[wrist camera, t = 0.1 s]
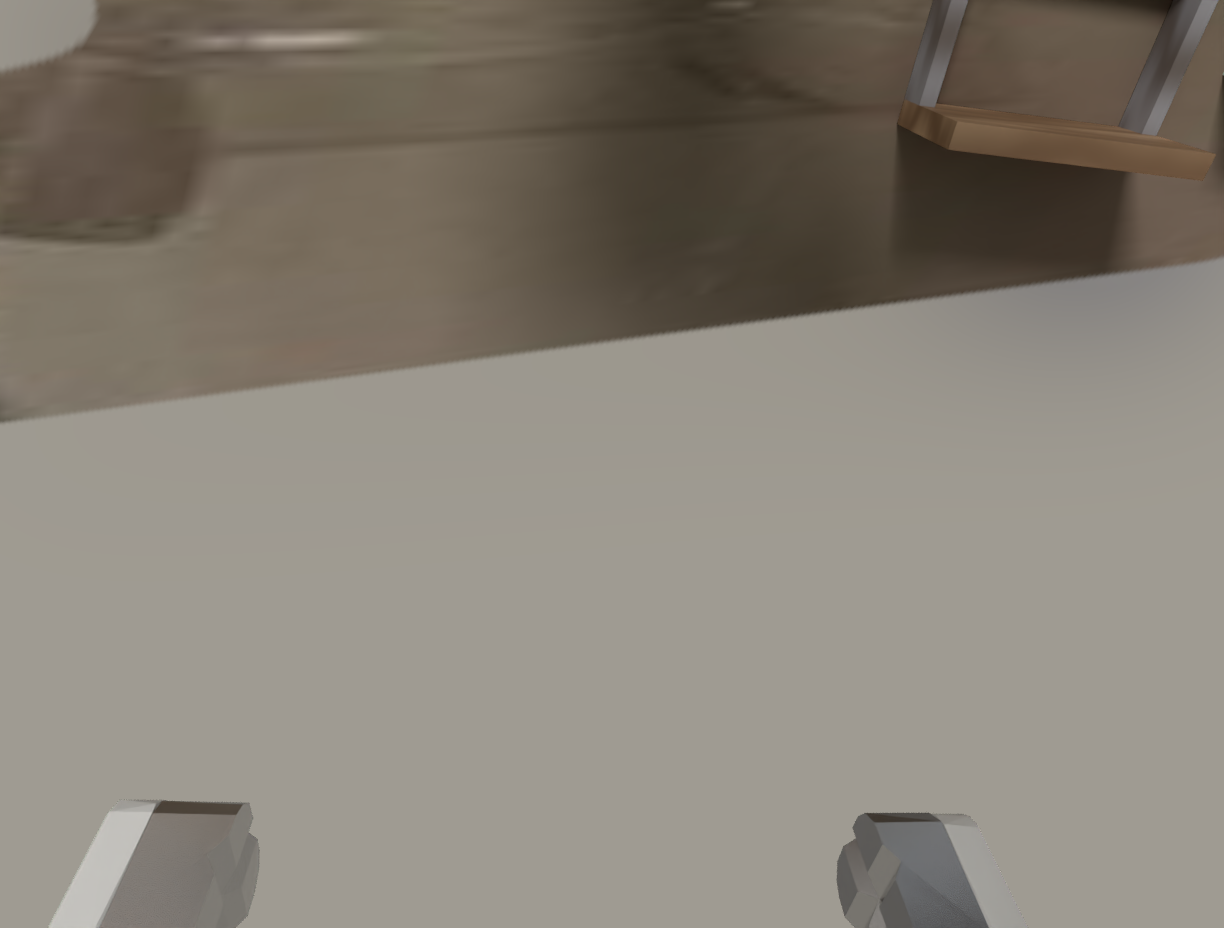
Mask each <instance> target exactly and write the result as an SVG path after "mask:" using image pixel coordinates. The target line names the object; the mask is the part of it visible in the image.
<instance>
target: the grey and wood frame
mask: <svg viewBox="0 0 1224 928" xmlns="http://www.w3.org/2000/svg"><path fill="white" fill-rule="evenodd" d="M1217 2H1218V0H1173V2H1172V4H1171V6H1170V9H1169V11H1168V13H1167V16H1166V18H1165V20H1164V23H1163V25H1162V27H1161V30H1160V32H1159V34H1158V37H1157V39H1156V41H1155V43H1154V46H1153V48H1152V50H1151V53H1150V55H1149V57H1148V60H1147V62H1146V64H1145V67H1144V69H1143V71H1142V73H1141V76H1140V78H1139V80H1138V83H1137V85H1136V87H1135V90H1134V92H1133V94H1132V97H1131V99H1130V101H1129V103H1128V106H1127V108H1126V110H1125V113H1124V115H1123V117H1122V120H1121V122H1120V124H1119V127H1117V126H1109V125H1102V124H1094V123H1086V122H1078V121H1071V120H1063V119H1055V118H1047V117H1039V116H1032V115H1024V114H1016V113H1008V112H1001V111H993V110H985V109H977V108H970V107H962V106H954V105H946V104H938V103H936V102H937V98H938V95H939V92H940V89H941V86H942V82H943V79H944V76H945V73H946V70H947V66H948V63H949V60H950V57H951V54H952V51H953V47H954V44H955V41H956V38H957V35H958V31H959V28H960V25H961V22H962V19H963V15H964V12H965V9H966V6H967V3H968V0H933V3H932V6H931V10H930V13H929V17H928V20H927V23H926V27H925V30H924V34H923V37H922V41H921V44H920V47H919V51H918V54H917V58H916V61H915V64H914V68H913V71H912V75H911V78H910V82H909V85H908V88H907V92H906V95H905V99H904V102H903V105H902V109H901V112H900V116H899V119H898V123H897V124H898V125H900V126H902V127H904V128H906V129H908V130H910V131H912V132H914V133H916V134H918V135H920V136H922V137H924V138H926V139H928V140H930V141H932V142H934V143H936V144H938V145H940V146H942V147H943V148H945V149H947V150H954V151H962V152H970V153H978V154H987V155H995V156H1003V157H1011V158H1019V159H1028V160H1036V161H1044V162H1052V163H1061V164H1069V165H1077V166H1085V167H1093V168H1102V169H1110V170H1118V171H1126V172H1135V173H1143V174H1151V175H1159V176H1167V177H1176V178H1184V179H1192V180H1200V181H1203V180H1204V178H1205V176H1206V174H1207V172H1208V170H1209V168H1210V166H1211V164H1212V162H1213V160H1214V158H1215V156H1216V154H1214V153H1210V152H1207V151H1204V150H1201V149H1197V148H1194V147H1191V146H1188V145H1184V144H1181V143H1178V142H1175V141H1171V140H1168V139H1165V138H1162V137H1158V136H1156V135H1157V133H1158V131H1159V128H1160V126H1161V124H1162V122H1163V120H1164V117H1165V115H1166V113H1167V111H1168V109H1169V107H1170V104H1171V102H1172V100H1173V98H1174V96H1175V94H1176V91H1177V89H1178V87H1179V85H1180V83H1181V80H1182V78H1183V76H1184V74H1185V72H1186V70H1187V67H1188V65H1189V63H1190V61H1191V59H1192V57H1193V54H1194V52H1195V50H1196V48H1197V46H1198V43H1199V41H1200V39H1201V37H1202V35H1203V33H1204V30H1205V28H1206V26H1207V24H1208V22H1209V20H1210V17H1211V15H1212V13H1213V11H1214V9H1215V7H1216V4H1217Z"/></svg>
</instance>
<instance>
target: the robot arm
mask: <svg viewBox="0 0 1224 928" xmlns="http://www.w3.org/2000/svg"><path fill="white" fill-rule="evenodd" d="M252 820H253V815H252V812H251V808H250V804H249V803H237V802H191V801H190V802H188V801H187V802H186V801H166V800H119V801H118V802H117V803H116V805H115V806H114V807H113V808H112V809H111V810H110V811H109V812H108V813H107V815H106V817H105V819H104V821H103V823H102V825H101V826H100V828H99V830H98V832H97V834H96V836H95V838H94V840H93V842H92V844H91V846H90V848H89V850H88V851H87V853H86V855H85V857H84V859H83V861H82V863H81V865H80V867H79V869H78V871H77V872H76V875H75V877H74V878H73V880H72V882H71V884H70V886H69V888H68V890H67V892H66V894H65V895H64V897H63V899H62V901H61V903H60V905H59V907H58V909H57V911H56V913H55V915H54V917H53V919H52V921H51V923H50V924H49V926H48V928H236V927H237V926H238V925H239V924H240V923H241V922H242V921H243V920H244V919H245V918H246V917H247V916H248V912H249V909H250V906H251V903H252V899H253V896H254V892H255V888H256V882H257V876H258V871H259V851H260V850H259V845H258V840H257V838H256V837H254V836H253V835H251V834H250V833H249V829H250V826H251V823H252ZM853 830H854V833H855V836H856V839H854V840H853V841H851V842H849V843H848V844H846V845H845V846H843V849H842V851H841V854H840V856H839V859H838V863H837V886H838V892H839V898H840V902H841V905H842V909H843V912H844V916H845V918H846V919H847V920H848V921H849V922H850V923H851V924H852V925H853V926H854V927H855V928H1028V927H1027V925H1026V923H1025V921H1024V919H1023V917H1022V914H1021V912H1020V910H1019V908H1018V906H1017V904H1016V903H1015V900H1014V898H1013V896H1012V894H1011V892H1010V890H1009V888H1008V886H1007V884H1006V882H1005V880H1004V878H1003V876H1002V874H1001V872H1000V870H999V868H998V866H997V864H996V862H995V860H994V858H993V856H992V854H991V852H990V850H989V848H988V846H987V844H986V842H985V840H984V838H983V836H982V833H981V831H980V829H979V827H978V825H977V824H976V822H975V821H973V819H972V818H971V817H970V816H967V815H964V814H930V813H864V814H862V815H860V816H858V818H857V819H856V821H855V824H854V826H853Z"/></svg>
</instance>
